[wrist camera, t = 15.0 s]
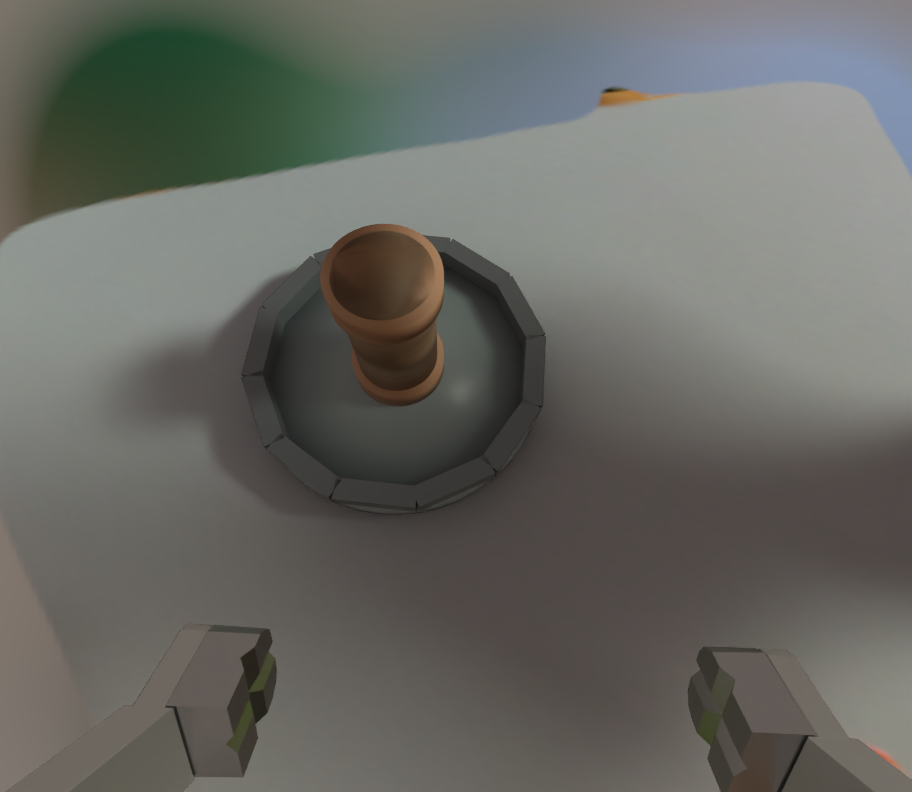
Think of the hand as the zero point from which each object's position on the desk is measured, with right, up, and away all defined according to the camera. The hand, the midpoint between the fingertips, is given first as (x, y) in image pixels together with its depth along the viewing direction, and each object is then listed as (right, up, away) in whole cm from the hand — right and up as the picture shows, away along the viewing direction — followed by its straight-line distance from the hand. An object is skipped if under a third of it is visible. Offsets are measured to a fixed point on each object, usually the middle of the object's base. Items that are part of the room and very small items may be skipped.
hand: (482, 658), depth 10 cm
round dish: (-4, +7, +24) cm, 25 cm away
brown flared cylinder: (-4, +7, +23) cm, 24 cm away
